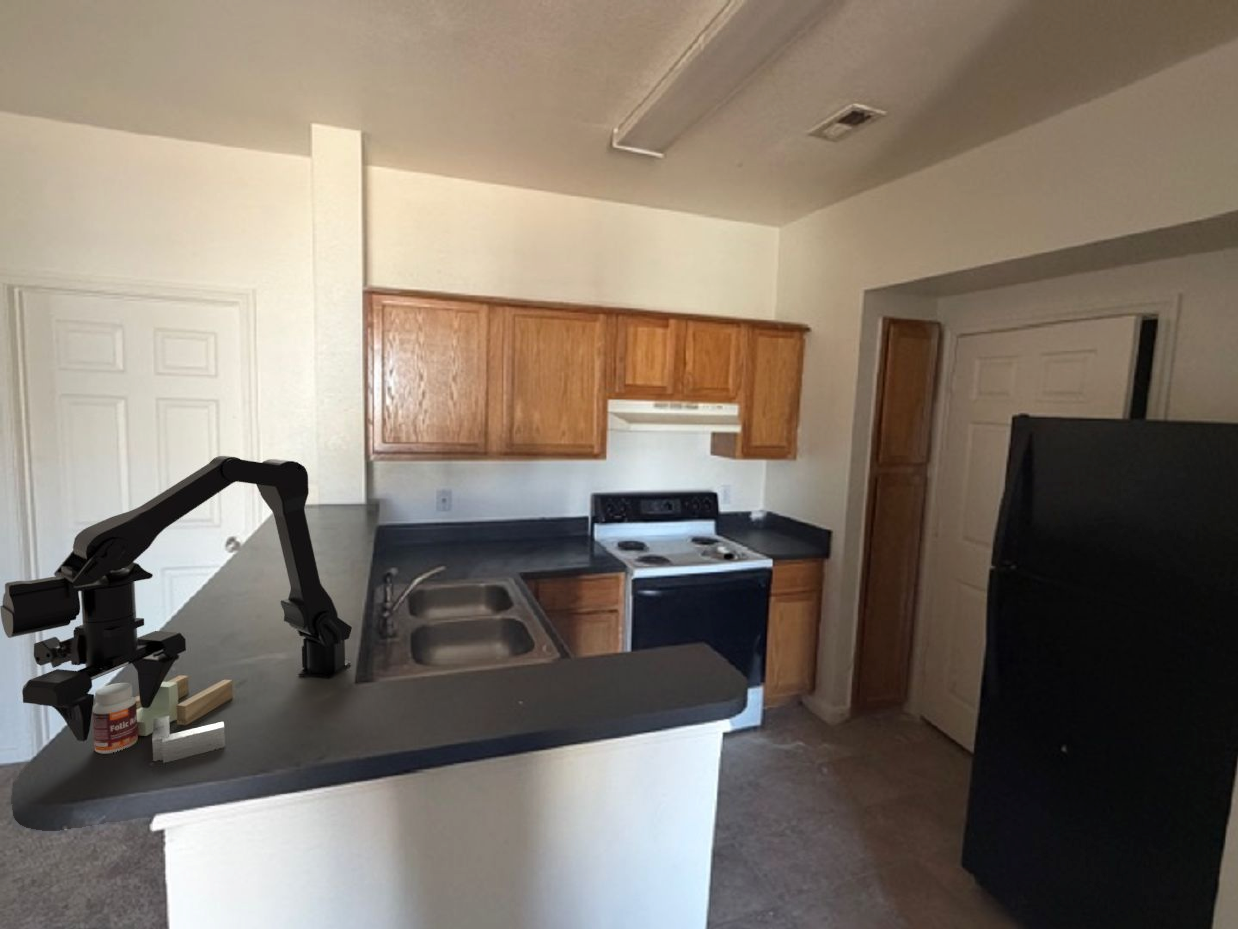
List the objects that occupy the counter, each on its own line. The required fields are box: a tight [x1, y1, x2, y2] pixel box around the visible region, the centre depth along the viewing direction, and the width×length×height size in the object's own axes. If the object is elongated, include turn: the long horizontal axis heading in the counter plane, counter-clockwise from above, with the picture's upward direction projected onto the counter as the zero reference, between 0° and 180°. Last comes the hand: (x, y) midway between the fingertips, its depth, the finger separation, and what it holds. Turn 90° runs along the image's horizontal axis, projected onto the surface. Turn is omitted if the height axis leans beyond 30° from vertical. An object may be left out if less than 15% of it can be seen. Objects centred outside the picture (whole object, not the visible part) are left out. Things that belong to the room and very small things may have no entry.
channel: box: [135, 675, 234, 726], centre depth 96 cm, size 10×9×3 cm
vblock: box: [151, 716, 226, 764], centre depth 84 cm, size 11×6×3 cm, turn 81°
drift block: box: [137, 680, 179, 737], centre depth 90 cm, size 5×6×6 cm
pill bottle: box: [92, 682, 139, 755], centre depth 85 cm, size 5×5×8 cm
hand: (115, 723), depth 85 cm, fingers open, 9 cm apart
